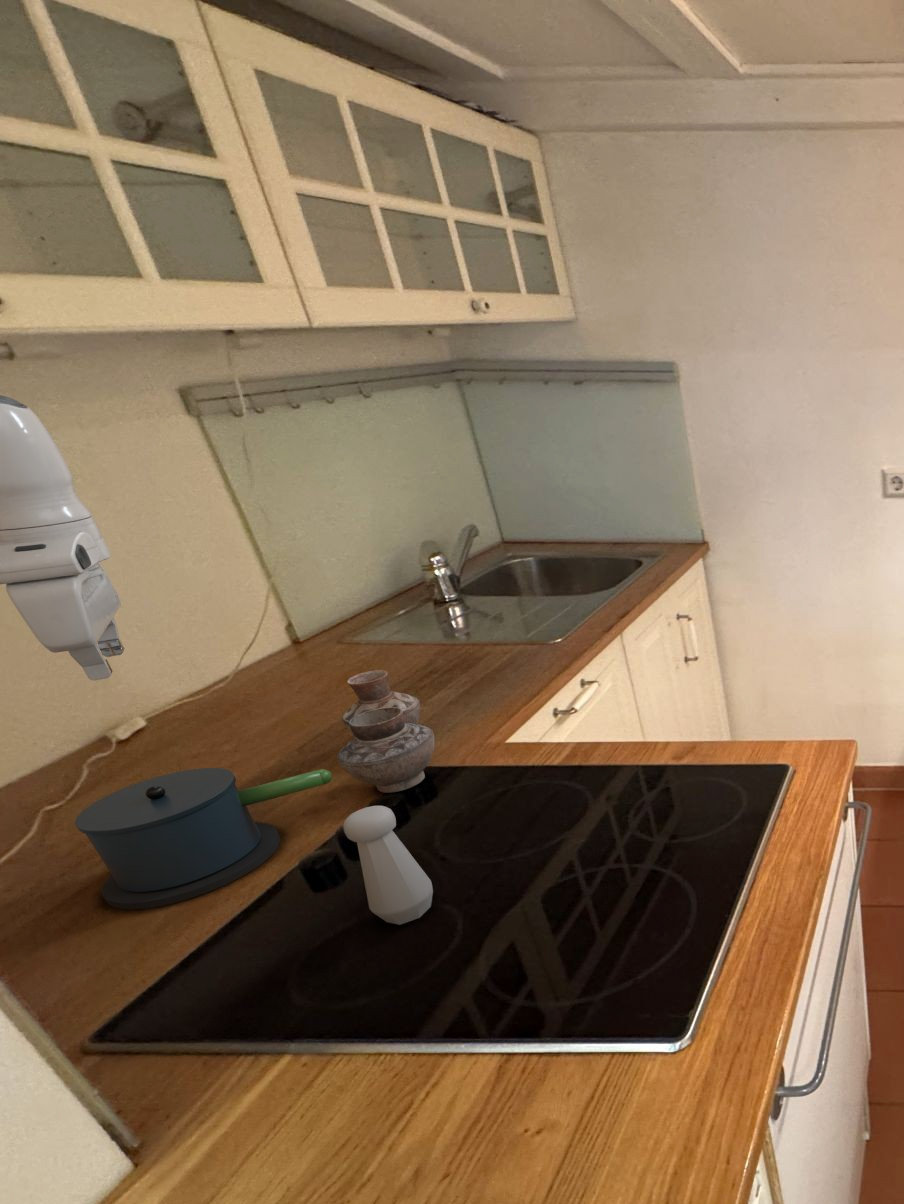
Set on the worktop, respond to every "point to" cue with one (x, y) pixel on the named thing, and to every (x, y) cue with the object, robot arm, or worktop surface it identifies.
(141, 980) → the worktop surface
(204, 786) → the pot
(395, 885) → the salt shaker
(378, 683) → the pottery
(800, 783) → the worktop surface
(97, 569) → the robot arm
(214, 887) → the trivet
